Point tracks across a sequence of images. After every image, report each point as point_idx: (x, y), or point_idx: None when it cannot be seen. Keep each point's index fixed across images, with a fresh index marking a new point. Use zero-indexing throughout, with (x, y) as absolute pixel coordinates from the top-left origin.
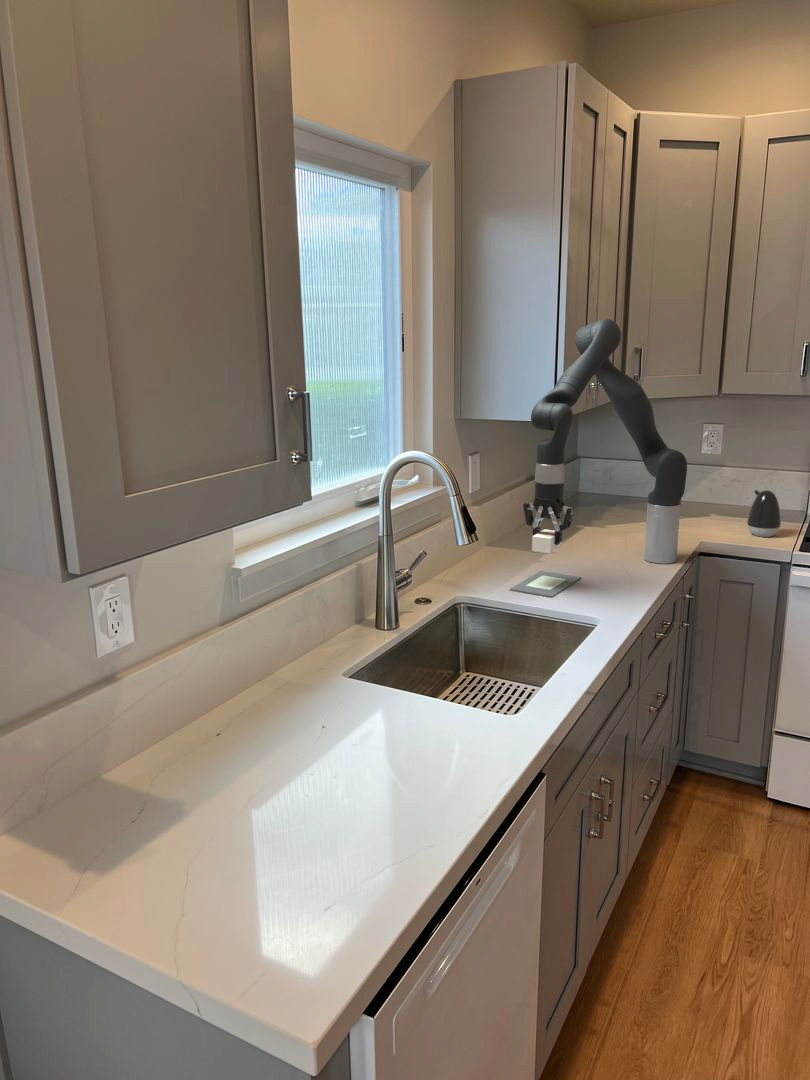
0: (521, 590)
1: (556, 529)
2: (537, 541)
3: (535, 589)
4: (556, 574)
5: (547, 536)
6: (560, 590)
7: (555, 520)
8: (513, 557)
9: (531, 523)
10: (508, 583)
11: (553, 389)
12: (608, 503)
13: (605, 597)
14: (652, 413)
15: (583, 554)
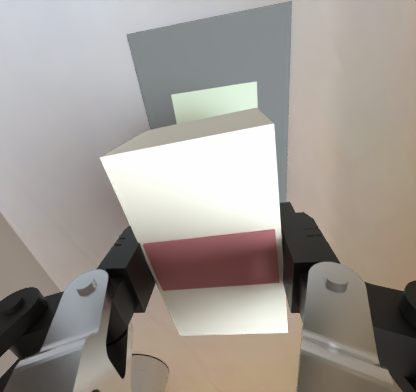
0: (244, 17)
1: (97, 282)
2: (220, 126)
3: (210, 68)
4: None
5: (165, 202)
6: (147, 113)
7: (18, 381)
8: None
9: (394, 314)
10: (327, 83)
11: None
12: None
13: (45, 148)
14: None
15: (260, 352)
